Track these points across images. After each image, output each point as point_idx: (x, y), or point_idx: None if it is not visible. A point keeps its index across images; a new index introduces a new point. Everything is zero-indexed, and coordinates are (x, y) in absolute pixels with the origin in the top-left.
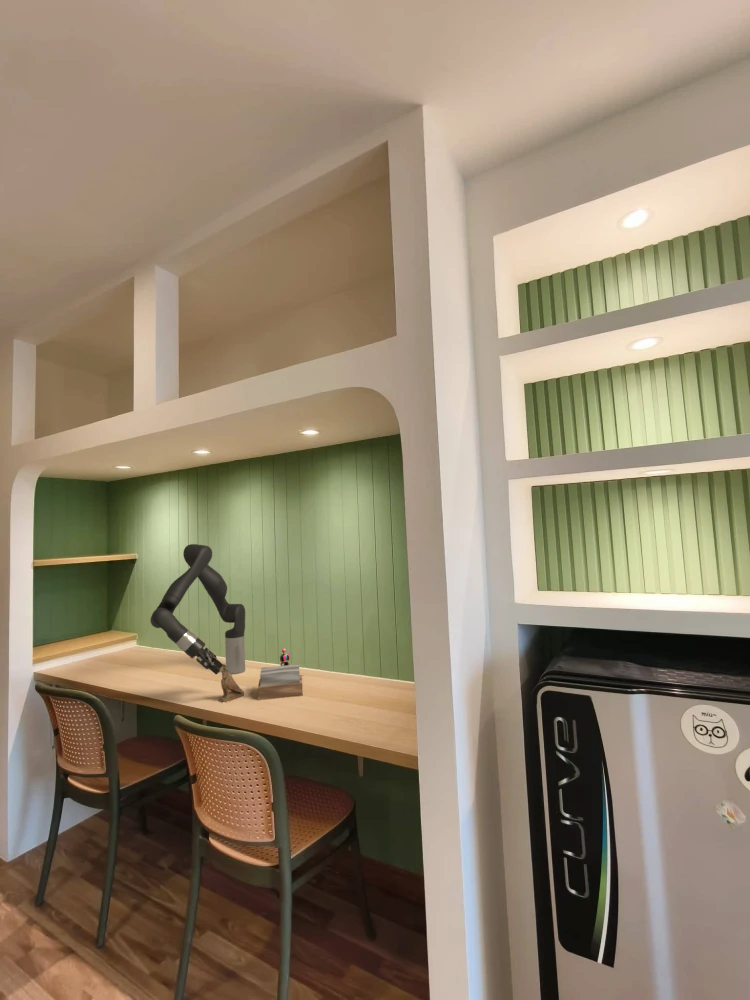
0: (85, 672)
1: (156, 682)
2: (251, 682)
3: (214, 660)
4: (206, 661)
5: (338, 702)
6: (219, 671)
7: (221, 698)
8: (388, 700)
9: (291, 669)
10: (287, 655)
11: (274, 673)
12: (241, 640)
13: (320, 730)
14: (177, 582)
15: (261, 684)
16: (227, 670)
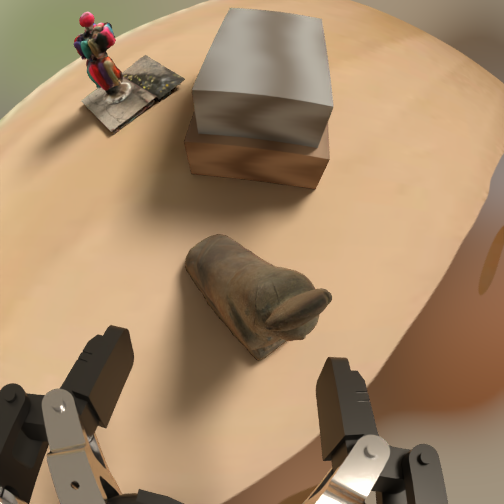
0: None
1: None
2: (61, 206)
3: (86, 418)
4: (442, 501)
5: (380, 52)
6: (342, 359)
7: (276, 346)
8: (377, 17)
9: (295, 25)
10: (108, 24)
11: (327, 65)
12: None
13: (498, 128)
14: None
15: (320, 138)
16: (296, 286)
